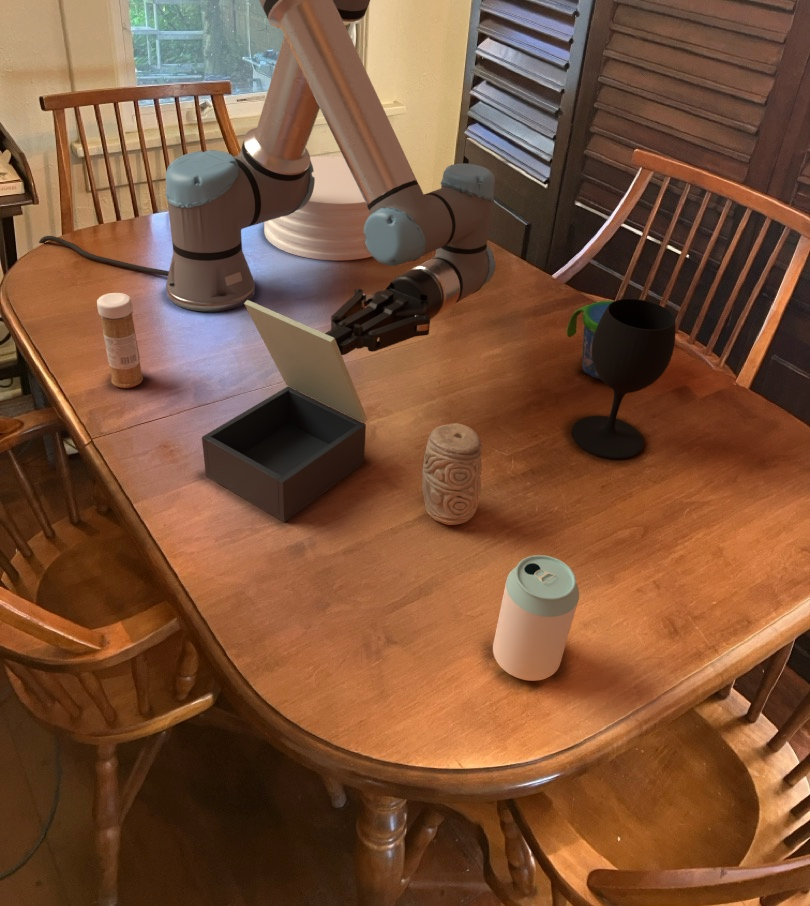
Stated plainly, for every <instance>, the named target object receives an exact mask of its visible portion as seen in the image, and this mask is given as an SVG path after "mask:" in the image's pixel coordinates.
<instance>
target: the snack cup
mask: <svg viewBox="0 0 810 906" xmlns="http://www.w3.org/2000/svg"><path fill="white" fill-rule="evenodd" d="M614 301H615V300H600V301H595V302H592V303H589V304H585V305H584V306H582V307H579V308H577V309H576V310H575V311H574V312H573V313H572V314H571V316H570V319H569V320H568V323H567V327H566V335H567V337H568V338H572V337H574V336H575V335H576V334H577V328H578V326H577V325H578V316H579V315H581V313H582V323H583V333H582V334H583V335H582V351H581V354H582V355H581V365H582V366H581V367H582V369H583V372H584V373H585V374H587V375H588V376H590V377H592V378H594V379H599V380H600V381H602V382H603V380H602V379H601V378H600V377H599V375H598V373H597V371H596V369H595V367H594V364H593V360H592V342H593V337H594V334H595V331H596V328H597V326H598V323H599V321H600V319H601V317H602V315H603V314H604V312H605V310H606V309H607V307H608V306H609V304H610V303H612V302H614Z"/></svg>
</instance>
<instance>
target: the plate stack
mask: <svg viewBox="0 0 810 906" xmlns="http://www.w3.org/2000/svg"><path fill="white" fill-rule="evenodd" d="M310 161H311V163H312V166H313V170H314V172H312V176H313V177H314V178H315V184H314V190H313V193H312V196H311V198H310V200H309V201H308V202H307V204H306V205H305V206H304V207H302V208H301V209H299V210H297V211H295V212H294V213H292V214H290V215H287V216H283V217H279V218H276V219H273V220H269V221H266V222H263V223H264V224H263V225H264V228H263V231H264V236H265V238H266V240H267V241H268V242H269V244H271V245H273V246H274V247H275V248H277V249H279V250H281V251H282V252H286V253H288V254H291V255H295V256H298V257H302V258H306V259H312V260H313V259H314V260H319V261H321V260H322V261H354V260H362V259H367V258H373V256H372V255H371V254H370V252H369V251H368V249H367V246H366V243H365V240H366V238H365V234H364V226H365V223H366V220H367V219H368V217H369V216H370V215H371V214H370V212H369V209H368V207H367V204H366V202H365V200H364V198H363V196H362V194H361V192H360V190H359V188H358V186H357V184H356V182H355V180H354V177H353V175H352V173H351V171H350V169H349V167H348V165H347V163H346V161H345V159H344V157H343V156H310Z"/></svg>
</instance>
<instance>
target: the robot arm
mask: <svg viewBox="0 0 810 906" xmlns="http://www.w3.org/2000/svg"><path fill="white" fill-rule="evenodd" d="M258 1H259V3H260V5H261V8H262V10H263V12H264V14H265V16H266V18H267V20H268V22H269V24H270V25H271V26H272V27H274V28H278V29H281V32H282V33H283V39H282V42H281V45H280V49H279V52H278V56H277V58H276V62H275V66H274V69H273V71H272V75H271V79H270V83H269V86H268V90H267V92H266V96H265V100H264V102H263V106H262V110H261V113H260V116H259V120H258V123H257V126H255V127H253V128H251V129H249V130H248V131H247V132H246V133H245V135H244V138H243V141H242V144H241V148H240V151H239V153H238V154H237V155H232V154H231V153H229V152H226V151H222V150H213V149H207V150H205V151H202V150H198V151H197V150H196V151H192V152H188V153H186V154H185V153H184V154H183V155H181V156H179V157H176V158H175V159H174V160H173V161H171V163H170V164H169V165H168V166H167V168H166V172H165V192H164V193H165V198H166V202H167V206H168V207H167V208H168V218H169V227H170V232H171V233H170V235H171V236H170V237H171V242H172V257H171V261H170V265H169V270H165V269H159V268H152V267H147V266H143V265H137V264H134V263H129V262H125V261H121V260H117V259H112V258H109V257H103V256H100V255H96V254H92V253H91V252H88V251H86V250H84V249H82V248H81V247H79V246H78V245H77V244H75V243H73V242H70V241H67V240H65V239H63V238H60V237H57V236H56V235H55V236H54V235H45V236H43V237H41V238H40V240H39V241H38V244H46V243H47V242H54V243H57V244H60V245H62V246H64V247H67V248H69V249H71V250H74V252H76V253H77V254H79V255H80V256H82V257H84V258H86V259H89V260H92V261H96V262H99V263H103V264H108V265H112V266H117V267H120V268H124V269H129V270H133V271H137V272H143V273H146V274H153V275H159V276H164V277H167V278H166V283H165V284H166V285H165V286H166V295H167V298H168V299H169V300H170V301H171V303H173V304H174V305H176V306H178V307H180V308H183V309H187V310H191V311H196V312H210V313H211V312H221V311H223V312H224V311H228V310H233V309H236V308H239V307H241V306H244V305H245V304H244V303H245V302H246V301H247V300H249V301H251V300H252V299H253V298H254V296H255V293H256V289H255V279H254V276H253V274H252V272H251V269H250V267H249V265H248V262H247V258H246V256H245V254H244V252H243V242H242V230H243V229H246V228H249V227H252V226H256V225H259V224H262V223H264V222H266V221H269V220H273V219H276V218H279V217H283V216H287V215H290V214H292V213H294V212H295V211H297V210H299V209H301V208H302V207H304V206H305V205H306V204H307V202H308V201H309V200H310V198H311V196H312V193H313V190H314V184H315V178H314V177H313V176H312V172H314V170H313V166H312V163H311V161H310V157H311V155H310V153H309V150H308V149H307V146H308V143H309V140H310V137H311V135H312V133H313V129H314V126H315V123H316V122H317V121H316V120H317V118H318V116H319V112H320V111H321V114H322V116H323V118H324V120H325V122H326V124H327V126H328V128H329V130H330V132H331V134H332V136H333V138H334V140H335V142H336V145H337V146H338V149H339V151H340V152H341V155H342V157H343V158H344V159H345V161H346V163H347V165H348V167H349V169H350V171H351V173H352V175H353V177H354V180H355V182H356V184H357V186H358V188H359V190H360V192H361V194H362V196H363V198H364V200H365V202H366V204H367V207H368V209H369V212H370V214H371V215H370V216H369V217H368V219H367V220H366V223H365V226H364V234H365V238H366V240H365V243H366V246H367V249H368V251H369V252H370V254H371V255H372V258H373V259H374V260H376V261H377V262H378V263H380V264H382V265H384V266H388V267H396V266H399V265H401V264H404V263H407V262H412V261H413V262H414V261H417V260H419V259H420V258H422V257H423V256H425V255H428V254H430V253H431V252H434V251H435V254H434V256H433V257H431V258H429V259H428V260H426V261H423V262H421V263H420V264H418V265H416V266H414V267H412V268H410V269H409V270H407V271H405V272H403V273H402V274H400V275H398V276H396V277H395V278H393V279H392V280H391V281H390V283H389V284H388V285H387V287H386V288H385V289H383V290H377V291H375V292H374V293H373V294H366V293H364V289H362V288H355V289H354V292H353V296H351V297H350V298H349V299H348V300H347V301H346V302H345V303H344V304H342V306H340V307H339V308H338V310H337V311H336V312H334V313H333V314H332V315H331V316H330V330H328V331H326V332H325V333H324V334H327V335H329V336H331V337H333V338H335V340H336V343H337V345H338V348H339V350H340V353H341V355H342V356H345V355H347V354H349V353H351V352H353V351H354V350H357V349H358V350H360V349H363V348H367V351H369V352H372V353H374V352H377V351H381V350H382V349H385V348H388V347H391V346H394V345H396V344H399V343H401V342H404V341H407V340H410V339H413V338H415V337H424V336H428V335H430V328H431V320H432V319H434V318H436V317H437V315H440V314H441V313H442V312H444V311H446V310H448V309H449V308H450V307H452V306H454V305H455V304H458V303H459V302H460V301H462V300H464V299H465V298H467V297H469V296H471V295H472V294H475V293H477V292H479V291H480V290H481V289H482V288H483V287H484V286H485V285H486V284H488V282H490V281H491V279H493V277H494V274H495V271H496V265H497V263H496V260H495V257H494V252H493V250H492V248H491V247H490V246H489V245H488V239H489V232H490V227H491V221H492V220H491V218H492V212H493V207H494V202H495V198H494V195H495V184H496V183H495V182H496V180H495V179H496V177H495V175H494V173H493V172H492V171H491V170H490V169H488V168H487V167H484V166H482V165H479V164H475V163H474V164H473V163H466V162H465V163H454V164H450V165H448V166H446V168H445V169H444V171H443V173H442V179H441V181H440V188H438V189H436V190H433V191H431V192H430V191H429V192H427V193H425V194H424V192H423V190H422V187H421V186H420V184H419V182H418V179H417V178H416V176H415V173H414V171H413V169H412V167H411V165H410V163H409V160H408V158H407V156H406V154H405V152H404V150H403V148H402V145H401V143H400V141H399V139H398V137H397V134H396V133H395V130H394V128H393V125H392V124H391V122H390V119H389V117H388V115H387V113H386V111H385V109H384V107H383V104H382V102H381V100H380V98H379V96H378V94H377V92H376V89H375V87H374V85H373V83H372V81H371V79H370V77H369V74H368V72H367V70H366V68H365V65H364V64H363V62H362V59H361V57H360V55H359V52H358V51H357V48H356V46H355V44H354V42H353V40H352V38H351V35H350V33H349V30H350V26H351V24H352V23H355V22H358V21H361V20H362V19H363V18H365V15H366V13H367V10H368V7H369V5H370V2H371V0H258Z"/></svg>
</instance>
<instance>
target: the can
mask: <svg viewBox="0 0 810 906" xmlns="http://www.w3.org/2000/svg"><path fill="white" fill-rule="evenodd" d="M579 600H580V588H579V585H578V584H577V577H576V574H575V573H574V571H573V569H572V568H571V567H570V566H569V565H568V564H566V563H565V562H564V561H562V560H561V559H559V558H556V557H554V556H550V555H545V554H535V555H530V556H526V557H524V558H522V559H521V560H520V561H519V562H518V563H517V565H516V566H515V567H514V568H513V569H511V570H510V572H509V573H508V575H507V577H506V581H505V585H504V591H503V595H502V598H501V604H500V610H499V615H498V620H497V624H496V629H495V630H496V631H495V634H494V639H493V643H492V654H493V657H494V659H495V661H496V662H497V665H499V667H500V668H501V669H502V670H503V671H505V673H507V674H509V675H511V676H513V677H514V678H517V679H520V680H524V681H530V682H531V681H541V680H545V679H547V678H550V677H551V676H553V675H554V674H555V673H556V672H557V671H558V669H559V668H560V665H561V662H562V658H563V655H564V651H565V649H566V645H567V643H568V642H567V641H568V639H569V635H570V631H571V628H572V624H573V621H574V618H575V614H576V610H577V608H578V607H577V606H578V603H579Z"/></svg>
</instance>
